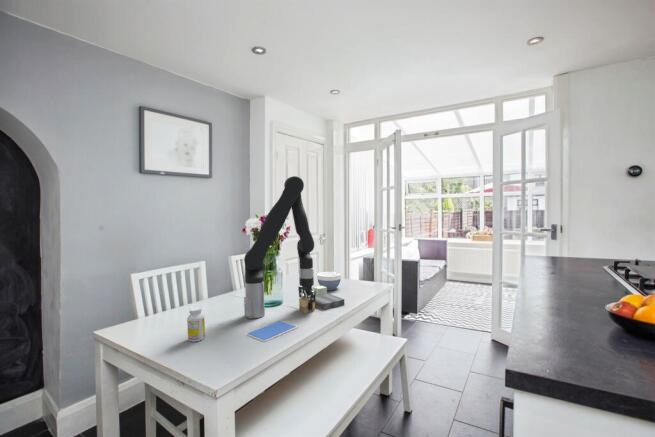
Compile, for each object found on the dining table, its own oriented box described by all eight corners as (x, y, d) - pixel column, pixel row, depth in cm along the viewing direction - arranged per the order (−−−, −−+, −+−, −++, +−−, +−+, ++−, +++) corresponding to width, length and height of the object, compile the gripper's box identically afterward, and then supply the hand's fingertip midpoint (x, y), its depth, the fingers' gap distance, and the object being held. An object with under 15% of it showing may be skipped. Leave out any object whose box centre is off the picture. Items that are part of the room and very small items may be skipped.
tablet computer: (264, 343, 130) (264, 340, 130) (245, 336, 138) (245, 333, 138) (298, 329, 145) (298, 326, 145) (279, 322, 153) (279, 320, 153)
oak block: (305, 312, 165) (304, 301, 165) (299, 309, 170) (299, 298, 170) (315, 310, 169) (314, 299, 168) (309, 307, 174) (308, 296, 173)
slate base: (323, 309, 169) (323, 304, 169) (309, 303, 181) (309, 298, 181) (344, 304, 177) (344, 299, 177) (329, 298, 189) (329, 293, 189)
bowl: (314, 286, 218) (314, 272, 218) (336, 284, 223) (336, 270, 223) (321, 292, 203) (320, 277, 203) (344, 290, 208) (344, 275, 208)
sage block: (318, 299, 189) (318, 289, 189) (313, 296, 194) (313, 287, 194) (327, 297, 193) (326, 287, 192) (321, 295, 198) (321, 285, 197)
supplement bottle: (200, 334, 140) (199, 305, 139) (208, 338, 135) (207, 308, 135) (185, 339, 134) (183, 309, 134) (193, 343, 130) (191, 312, 130)
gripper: (293, 275, 172) (294, 306, 173) (307, 279, 161) (308, 313, 161) (305, 273, 177) (306, 303, 177) (320, 277, 165) (320, 310, 166)
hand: (307, 307), depth 169 cm, fingers closed on oak block, 6 cm apart
